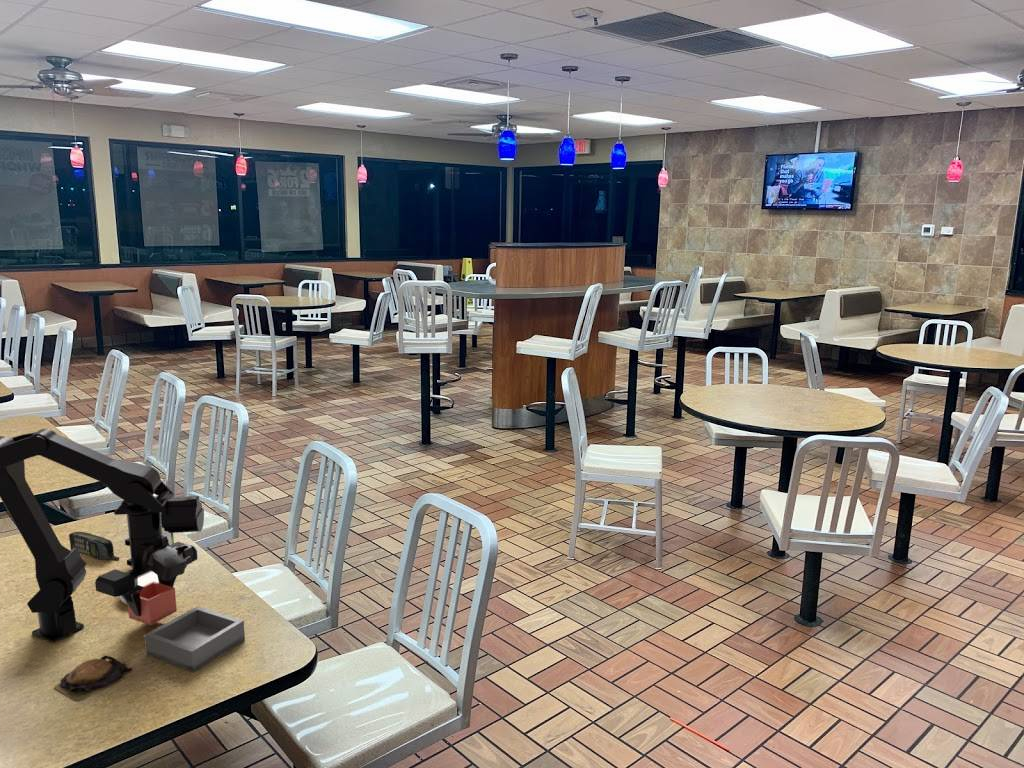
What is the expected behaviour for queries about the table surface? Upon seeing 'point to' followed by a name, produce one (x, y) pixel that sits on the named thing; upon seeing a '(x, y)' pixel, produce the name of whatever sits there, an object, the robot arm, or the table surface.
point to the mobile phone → (92, 545)
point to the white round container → (144, 581)
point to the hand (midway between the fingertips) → (152, 608)
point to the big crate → (194, 638)
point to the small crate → (155, 603)
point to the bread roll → (92, 677)
